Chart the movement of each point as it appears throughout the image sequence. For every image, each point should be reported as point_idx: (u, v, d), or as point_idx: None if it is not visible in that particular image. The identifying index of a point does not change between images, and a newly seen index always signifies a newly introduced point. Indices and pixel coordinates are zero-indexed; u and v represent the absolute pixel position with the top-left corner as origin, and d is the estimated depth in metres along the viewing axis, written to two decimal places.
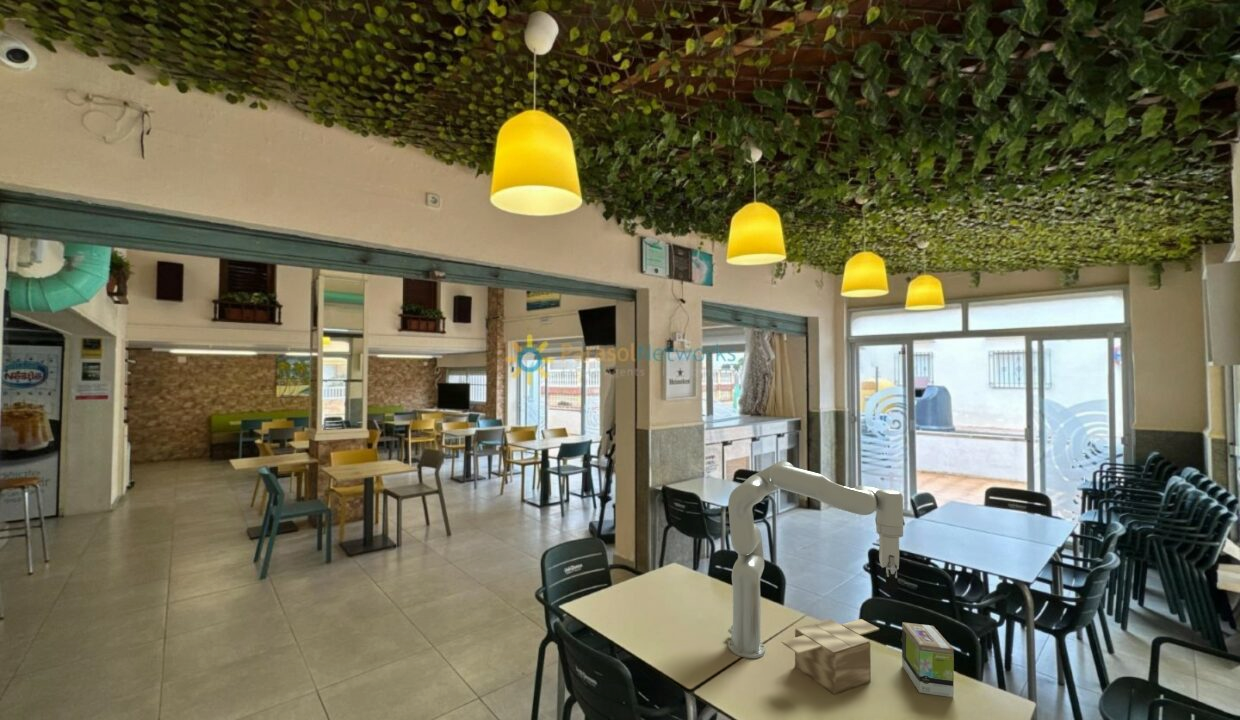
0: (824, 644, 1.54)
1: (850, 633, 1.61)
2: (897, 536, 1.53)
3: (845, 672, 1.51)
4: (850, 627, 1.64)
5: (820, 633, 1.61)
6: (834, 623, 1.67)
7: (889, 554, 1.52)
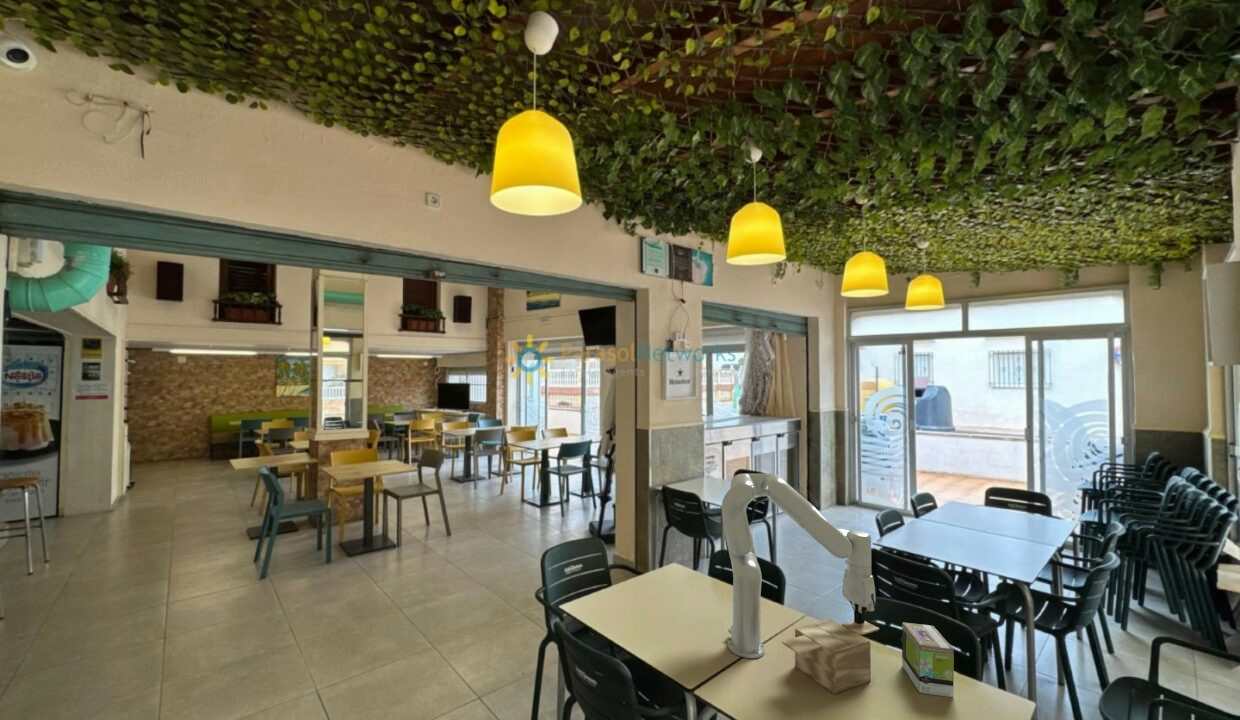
0: (824, 644, 1.54)
1: (850, 633, 1.61)
2: None
3: (845, 672, 1.51)
4: (850, 627, 1.64)
5: (820, 633, 1.61)
6: (834, 623, 1.67)
7: (870, 593, 1.64)
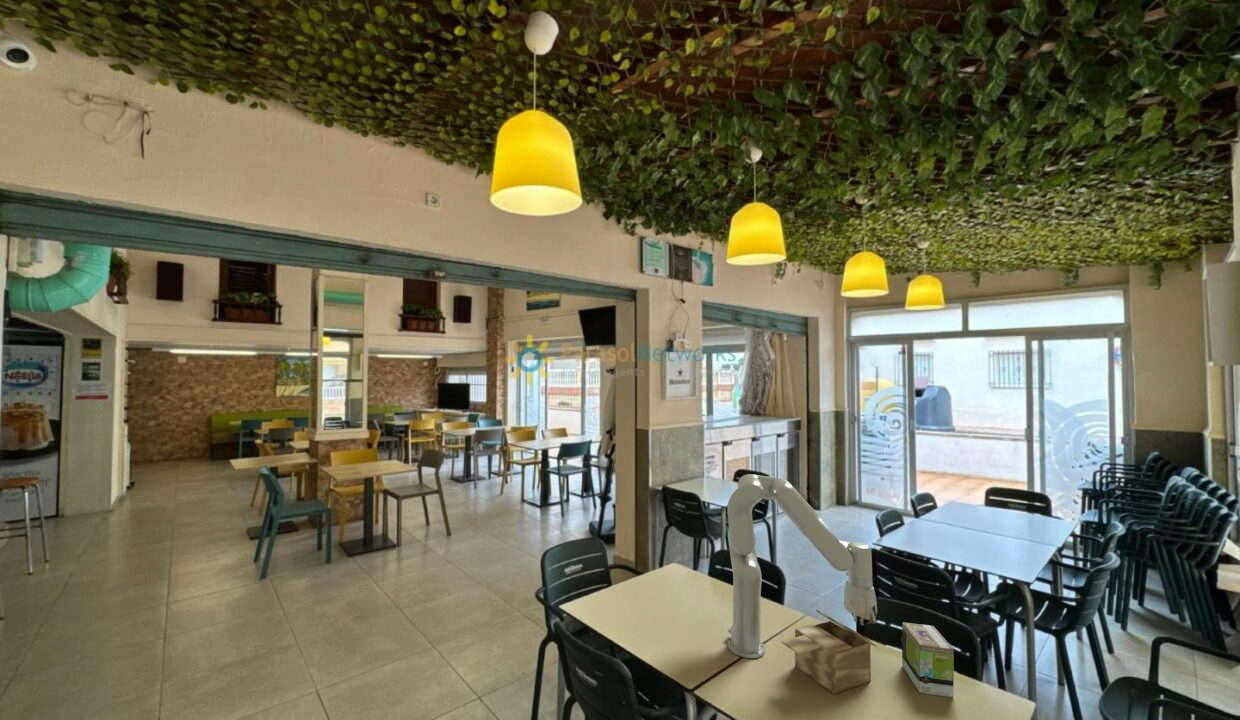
0: (824, 644, 1.54)
1: None
2: None
3: (845, 672, 1.51)
4: None
5: (820, 633, 1.61)
6: None
7: (872, 605, 1.63)
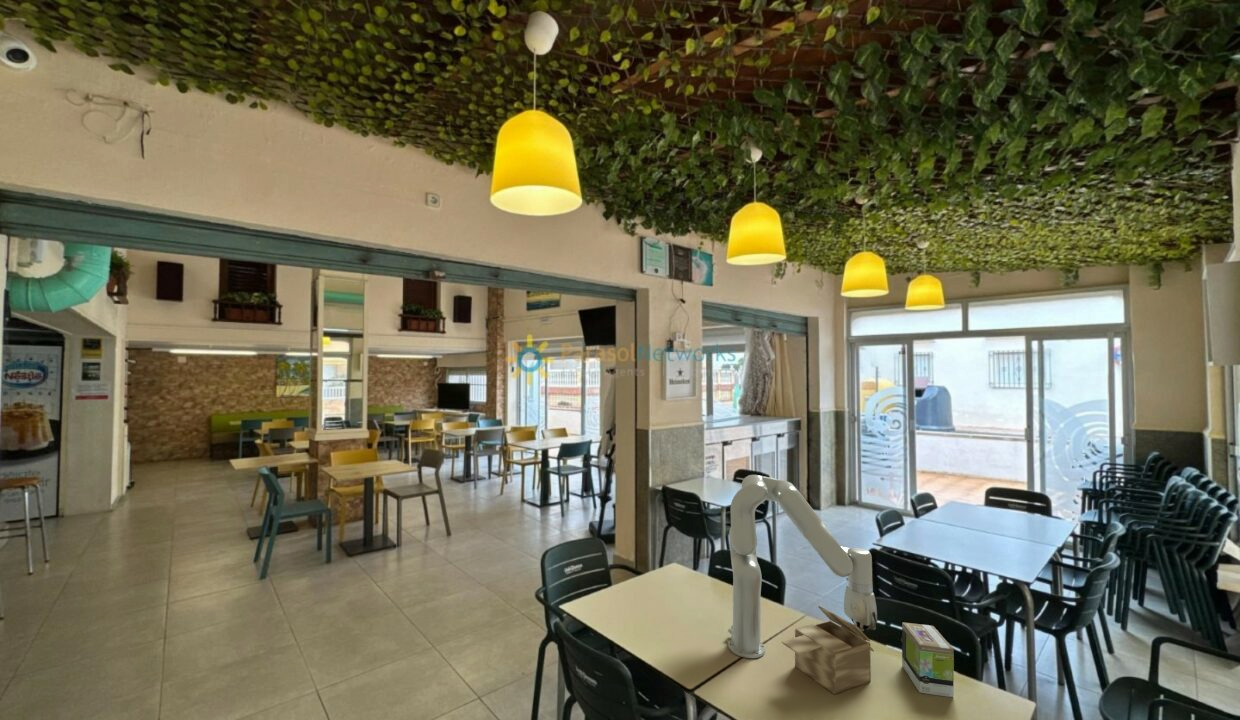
0: (824, 644, 1.54)
1: None
2: None
3: (845, 672, 1.51)
4: None
5: (820, 633, 1.61)
6: None
7: (872, 611, 1.63)
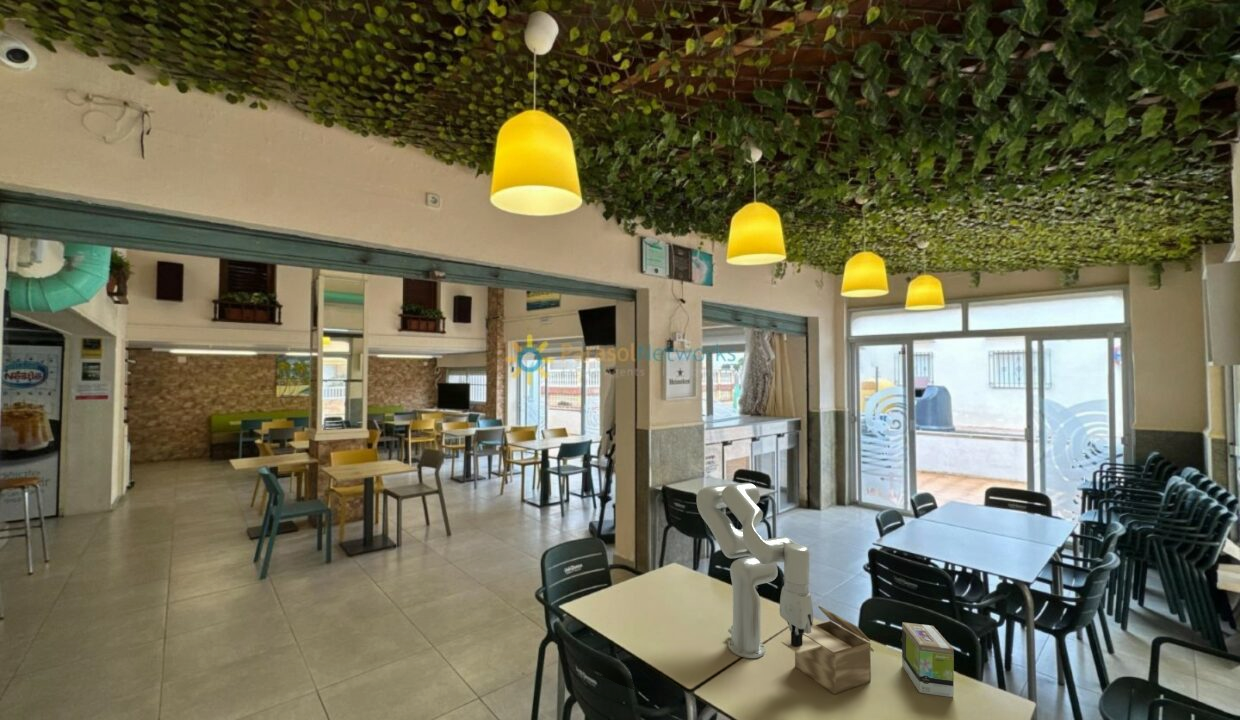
0: (824, 644, 1.54)
1: None
2: None
3: (845, 672, 1.51)
4: None
5: (820, 633, 1.61)
6: None
7: (807, 613, 1.49)
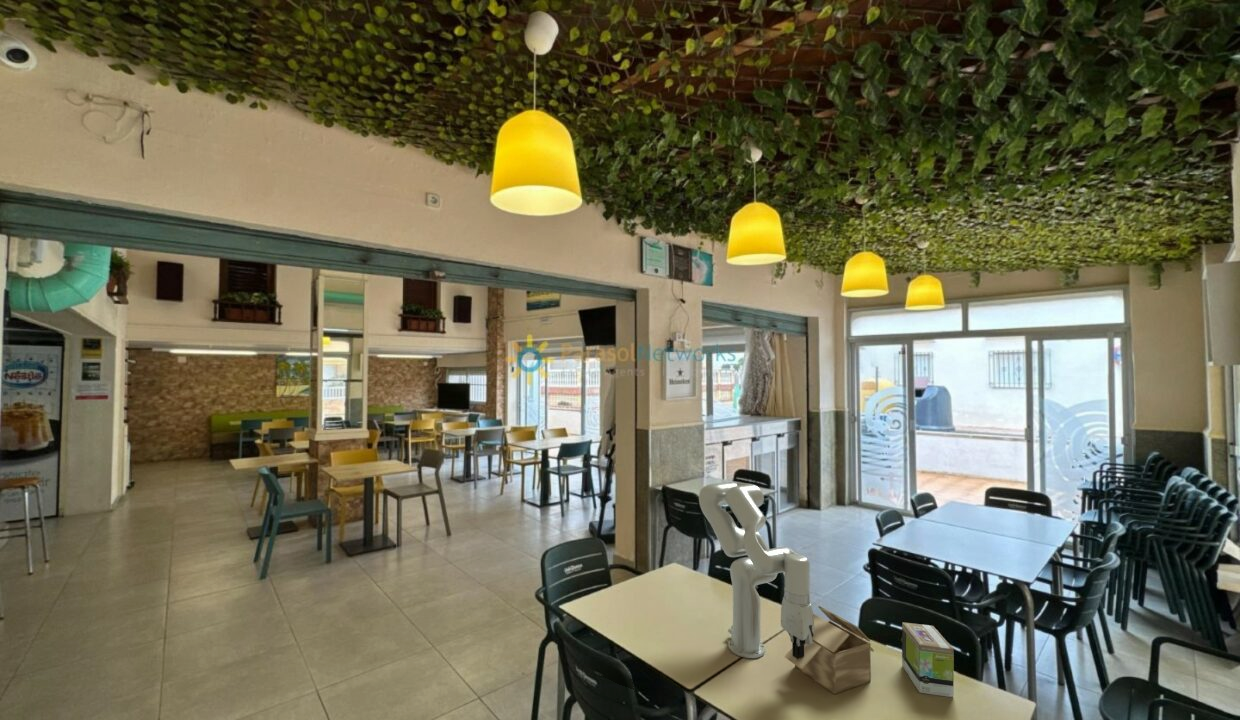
0: (824, 642, 1.54)
1: None
2: (809, 602, 1.51)
3: (845, 672, 1.51)
4: None
5: (818, 624, 1.60)
6: None
7: (808, 624, 1.48)
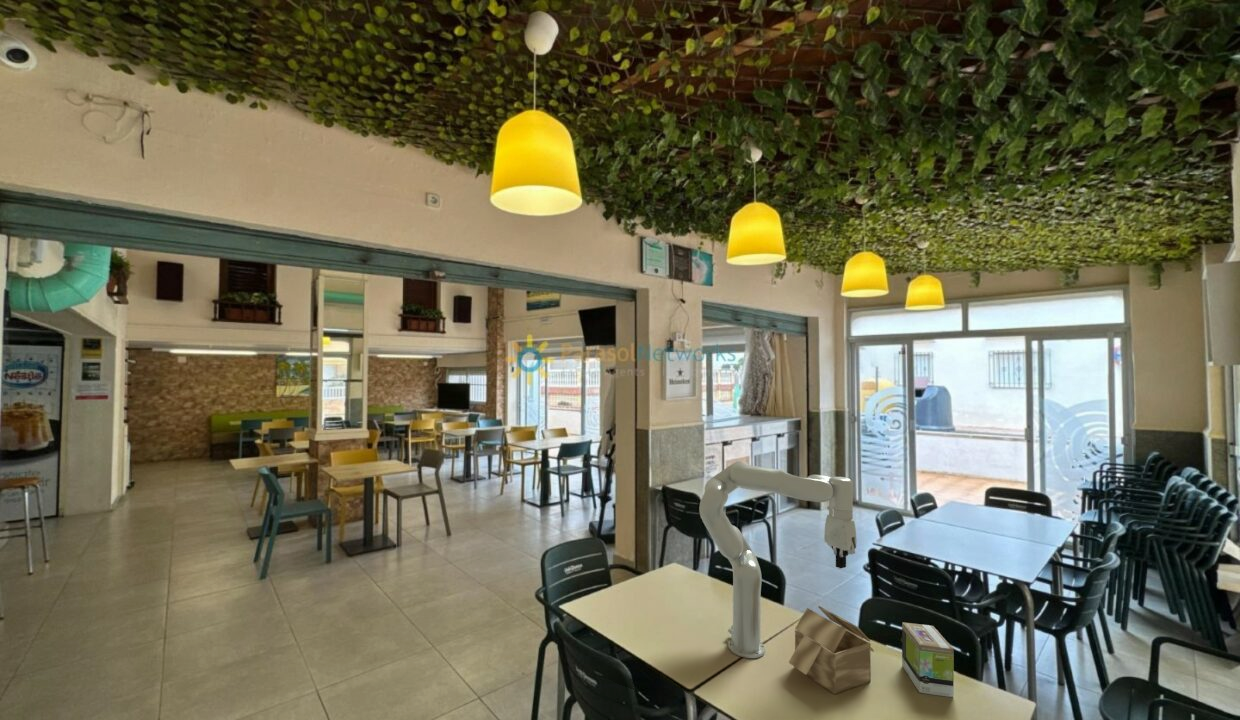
0: (823, 641, 1.54)
1: None
2: (852, 518, 1.68)
3: (845, 672, 1.51)
4: None
5: (816, 621, 1.60)
6: None
7: (851, 536, 1.65)
